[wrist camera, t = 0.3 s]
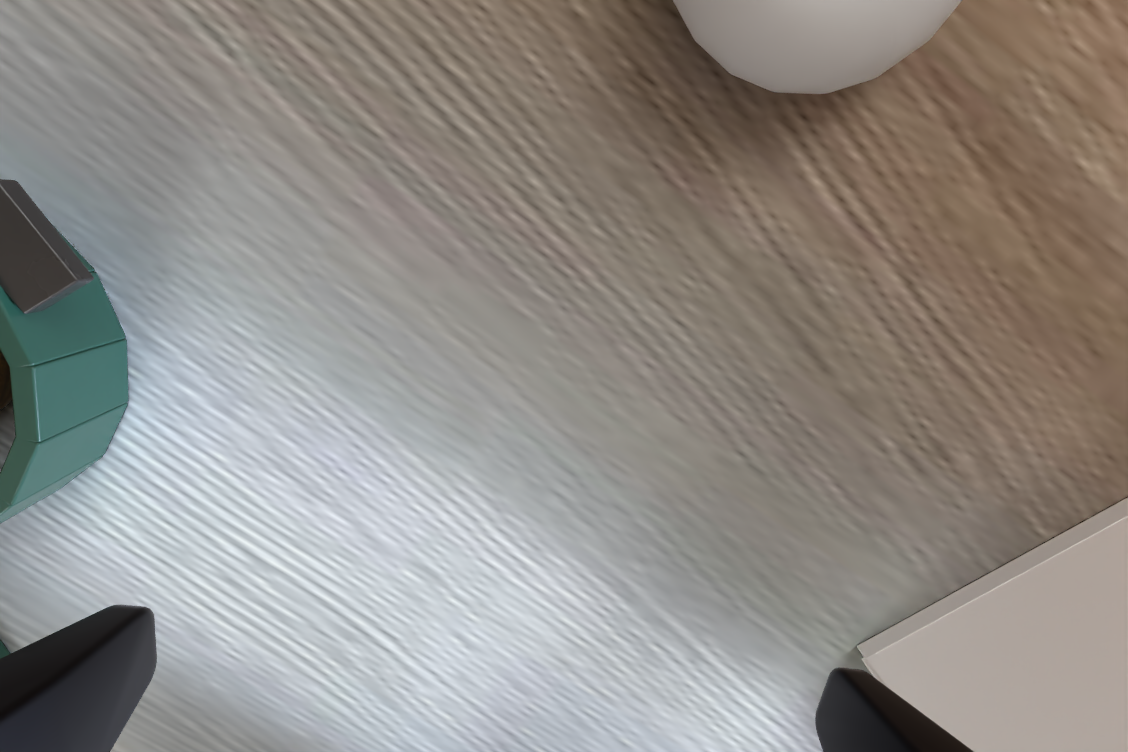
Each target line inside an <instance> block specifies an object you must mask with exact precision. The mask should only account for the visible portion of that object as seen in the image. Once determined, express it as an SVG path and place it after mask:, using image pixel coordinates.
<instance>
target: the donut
mask: <svg viewBox="0 0 1128 752" xmlns="http://www.w3.org/2000/svg"><path fill="white" fill-rule="evenodd" d="M961 1H962V0H673V2H674V3H675V5H676V7H677V9H678V11H679V13H680V14H681V16H682V18H683V20H684V22H685V24H686V26H687V27H688V29H689V31H690V33H691V35H692V37H693V38H694V40H695V41H696V42H697V43H698V44H699V45H700V46H701V47H702V48H703V49H704V50H705V51H706V52H707V53H709V54H710V55H711V56H712V57H713V58H714V59H715V60H716V61H717V62H718V63H719V64H720V65H721V66H722V67H723V68H725V69H726V70H727V71H728V72H729V73H730V74H732V75H734V76H736V77H739V78H741V79H743V80H746V81H748V82H750V83H753V84H755V85H757V86H760V87H762V88H764V89H767V90H769V91H772V92H780V93H805V94H827V93H830V92H834V91H837V90H840V89H843V88H846V87H850V86H853V85H856V84H859V83H862V82H866V81H869V80H872V79H875V78H877V77H878V76H880V75H881V74H882V73H884V72H885V71H887V70H888V69H890V68H891V67H892V66H894V65H895V64H897V63H898V62H900V61H901V60H902V59H904V58H905V57H907V56H908V55H910V54H911V53H912V52H914V51H915V50H917V49H918V48H920V47H921V46H922V45H924V44H925V43H926V42H928V41H929V40H930V39H931V38H932V36H933V35H934V34H935V33H936V32H937V30H938V29H939V28H940V27H941V25H942V24H943V23H944V22H945V21H946V19H947V18H948V17H949V16H950V15H951V13H952V12H953V11H954V10H955V8H956V7H957V6H958V5H959V4H960V2H961Z"/></svg>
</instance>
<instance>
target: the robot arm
mask: <svg viewBox="0 0 1128 752" xmlns="http://www.w3.org/2000/svg"><path fill="white" fill-rule="evenodd" d="M156 662H157V654H156V638H155V621H154V614H153V612H152V611H151V610H150V609H149V608H147V607H141V606H130V605H113V606H110V607H108V608H105V609H103V610H101V611H99V612H97V613H95V614H93V615H91V616H89V617H86V618H84V619H82V620H80V621H78V622H76V623H74V624H72V625H70V626H68V627H66V628H63V629H61V630H59V631H57V632H55V633H53V634H51V635H49V636H47V637H45V638H43V639H40V640H38V641H36V642H34V643H32V644H30V645H28V646H26V647H24V648H22V649H20V650H18V651H15V652H13V653H11V654H9V655H7V656H5V657H3V658H1V659H0V752H110V751H111V749H112V747H113V746H114V744H115V742H116V741H117V739H118V737H119V735H120V734H121V732H122V730H123V728H124V727H125V725H126V723H127V721H128V720H129V718H130V716H131V714H132V713H133V711H134V709H135V707H136V706H137V704H138V702H139V700H140V699H141V697H142V695H143V694H144V692H145V690H146V688H147V687H148V685H149V683H150V681H151V679H152V677H153V674H154V671H155V668H156ZM815 721H816V730H817V734H818V737H819V740H820V743H821V746H822V749H823V752H974V751H973V750H971V749H970V748H969V747H967V746H966V745H964V744H963V743H962V742H960V741H959V740H958V739H956V738H955V737H954V736H952V735H951V734H950V733H948V732H947V731H946V730H944V729H943V728H942V727H940V726H939V725H938V724H936V723H935V722H934V721H932V720H931V719H929V718H928V717H927V716H925V715H924V714H923V713H921V712H920V711H919V710H917V709H916V708H915V707H913V706H912V705H911V704H909V703H908V702H907V701H905V700H904V699H903V698H901V697H900V696H899V695H897V694H896V693H895V692H893V691H892V690H890V689H889V688H888V687H886V686H885V685H884V684H882V683H881V682H880V681H878V680H877V679H876V678H874V677H873V676H872V675H870V674H869V673H867V672H865V671H863V670H859V669H848V668H836V669H834V670H833V671H832V672H831V673H830V675H829V677H828V680H827V683H826V686H825V688H824V691H823V694H822V697H821V699H820V702H819V705H818V708H817V711H816V718H815Z"/></svg>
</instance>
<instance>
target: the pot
mask: <svg viewBox="0 0 1128 752" xmlns="http://www.w3.org/2000/svg"><path fill="white" fill-rule="evenodd" d="M94 271H95V270H94V268H93V267H92V266H91V265H90V264H89V263H88V262H87V261H86V260H85V259H84V258H83V257H82V256H81V255H80V254H79V253H78V252H77V251H76V249H75V248H74V247H73V246H72V245H71V244H70V243H69V242H68V241H67V240H66V239H65V238H64V237H63V236H62V235H61V234H60V233H59V232H58V231H57V230H56V228H55V227H54V226H53V225H52V224H51V223H50V222H49V221H48V219H47V218H46V217H45V216H44V214H43V213H42V212H41V211H40V209H39V208H38V207H37V206H36V204H35V203H34V202H33V201H32V199H31V198H30V197H29V196H28V194H27V193H26V192H25V191H24V189H23V188H22V187H21V186H20V184H19V183H18V182H17V181H15V180H2V179H0V350H1V352H2V354H3V356H4V357H5V359H6V361H7V363H8V365H9V367H10V378H11V389H12V400H13V412H14V423H15V435H16V437H15V439H14V442H13V444H12V446H11V449H10V451H9V453H8V456H7V458H6V460H5V463H4V465H3V467H2V470H1V472H0V523H2V522H4V521H5V520H7V519H9V518H11V517H12V516H14V515H16V514H18V513H19V512H21V511H23V510H24V509H26V508H28V507H30V506H31V505H33V504H35V503H37V502H38V501H40V500H42V499H44V498H45V497H47V496H49V495H50V494H52V493H54V492H56V491H57V490H59V489H60V488H62V487H63V486H64V485H66V484H67V483H68V482H70V481H71V480H72V479H74V478H75V477H76V476H78V475H79V474H80V473H81V472H83V471H84V470H85V469H87V468H88V467H89V466H91V465H92V464H93V463H95V462H96V461H97V460H99V459H100V458H101V457H102V456H103V454H105V452H106V450H107V447H108V445H109V443H110V441H111V439H112V437H113V435H114V433H115V430H116V428H117V426H118V424H119V422H120V420H121V418H122V415H123V413H124V411H125V409H126V407H127V405H128V403H127V402H128V369H127V341H126V339H124V338H125V334H124V332H123V329H122V327H121V325H120V323H119V321H118V319H117V316H116V314H115V312H114V310H113V308H112V305H111V303H110V301H109V299H108V297H107V294H106V292H105V290H104V288H103V286H102V283H101V281H100V279H99V277H98V275H97V273H96V272H94Z"/></svg>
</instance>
